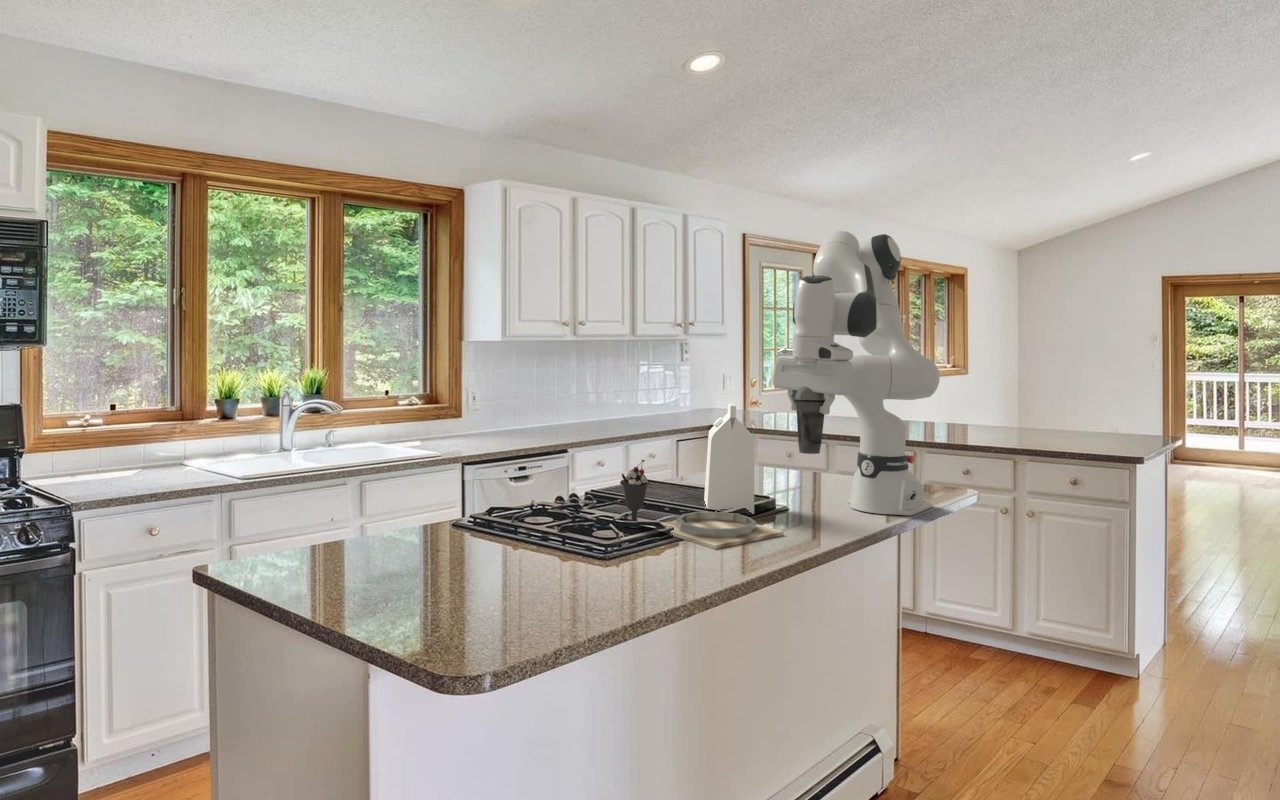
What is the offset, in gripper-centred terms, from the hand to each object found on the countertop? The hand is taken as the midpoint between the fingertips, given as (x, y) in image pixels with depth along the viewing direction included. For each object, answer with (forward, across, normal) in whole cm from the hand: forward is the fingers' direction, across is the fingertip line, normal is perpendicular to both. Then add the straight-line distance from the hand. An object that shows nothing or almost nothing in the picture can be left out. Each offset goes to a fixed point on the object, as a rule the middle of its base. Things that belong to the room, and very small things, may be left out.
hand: (810, 412), depth 191 cm
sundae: (+27, -25, -29) cm, 47 cm away
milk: (+27, -27, +3) cm, 38 cm away
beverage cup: (+9, 0, 0) cm, 9 cm away
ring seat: (+27, -11, -17) cm, 34 cm away
